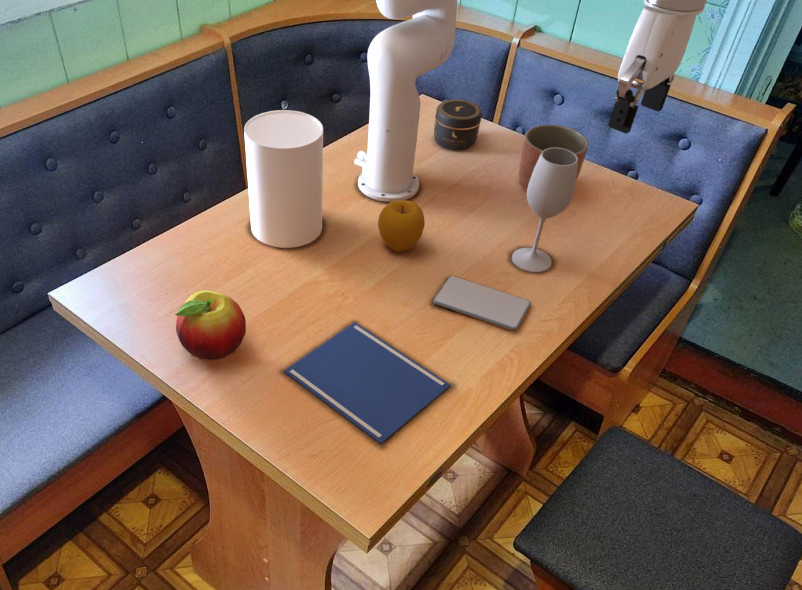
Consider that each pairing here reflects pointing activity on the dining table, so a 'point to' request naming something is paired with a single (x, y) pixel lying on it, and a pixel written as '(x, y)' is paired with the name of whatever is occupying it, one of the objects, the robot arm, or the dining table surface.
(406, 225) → the apple
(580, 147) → the planter
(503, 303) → the smartphone
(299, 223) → the canister
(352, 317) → the dining table surface
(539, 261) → the wineglass
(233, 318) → the fruit
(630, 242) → the dining table surface
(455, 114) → the jar
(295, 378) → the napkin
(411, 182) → the robot arm
